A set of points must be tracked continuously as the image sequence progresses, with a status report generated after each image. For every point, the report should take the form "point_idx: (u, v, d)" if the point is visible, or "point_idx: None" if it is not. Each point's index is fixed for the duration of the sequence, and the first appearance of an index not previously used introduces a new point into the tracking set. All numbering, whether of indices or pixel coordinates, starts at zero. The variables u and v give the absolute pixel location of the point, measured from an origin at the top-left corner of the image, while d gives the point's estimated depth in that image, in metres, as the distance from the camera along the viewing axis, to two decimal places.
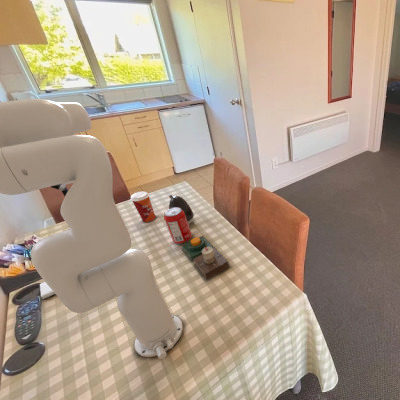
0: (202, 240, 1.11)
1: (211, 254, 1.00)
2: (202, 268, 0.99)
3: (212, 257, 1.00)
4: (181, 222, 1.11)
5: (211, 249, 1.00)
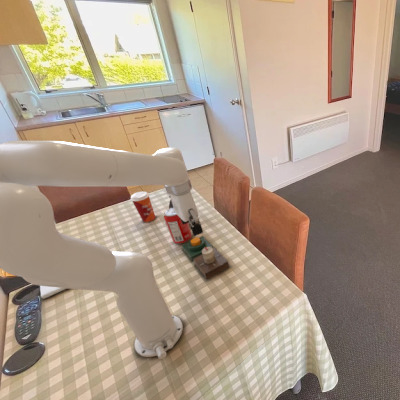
0: (202, 240, 1.11)
1: (211, 254, 1.00)
2: (202, 268, 0.99)
3: (212, 257, 1.00)
4: (181, 222, 1.11)
5: (211, 249, 1.00)
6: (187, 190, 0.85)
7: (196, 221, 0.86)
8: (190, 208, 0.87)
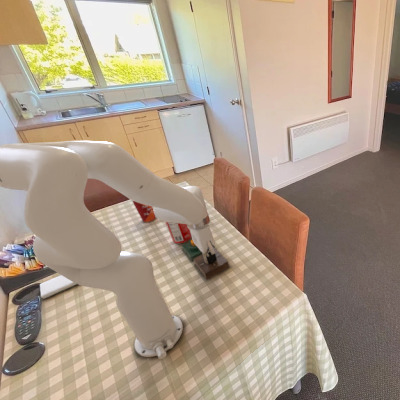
0: None
1: None
2: (202, 268, 0.99)
3: None
4: None
5: None
6: (206, 224, 0.92)
7: (212, 254, 0.95)
8: (208, 240, 0.93)
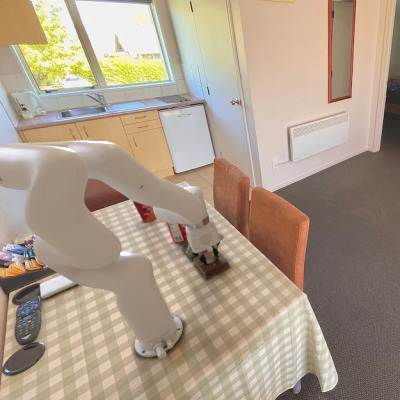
0: None
1: None
2: (202, 268, 0.99)
3: None
4: None
5: None
6: None
7: None
8: None
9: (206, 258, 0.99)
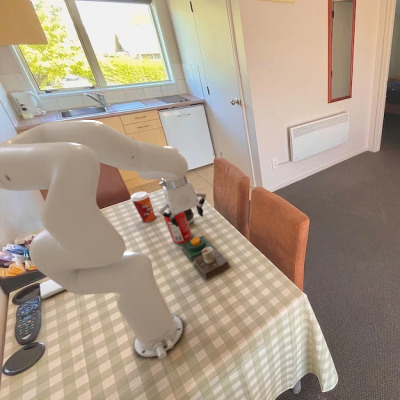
0: (202, 240, 1.11)
1: None
2: (202, 268, 0.99)
3: None
4: (181, 222, 1.11)
5: (207, 247, 1.01)
6: None
7: None
8: None
9: (206, 258, 0.99)
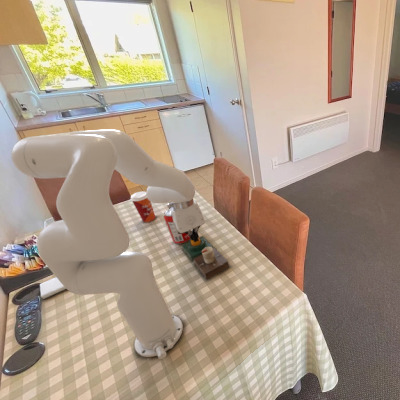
0: (202, 240, 1.11)
1: None
2: (202, 268, 0.99)
3: None
4: None
5: (207, 247, 1.01)
6: None
7: None
8: None
9: (206, 258, 0.99)
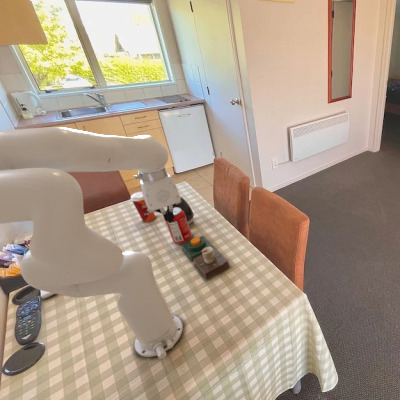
0: (202, 240, 1.11)
1: None
2: (202, 268, 0.99)
3: None
4: (181, 222, 1.11)
5: (207, 247, 1.01)
6: None
7: None
8: None
9: (206, 258, 0.99)
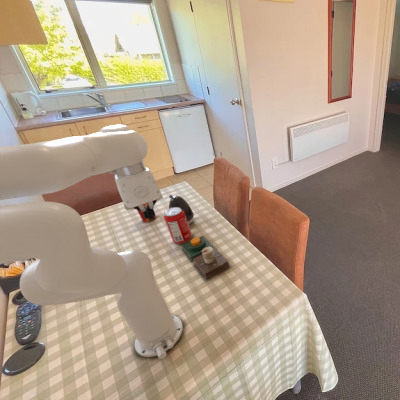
0: (202, 240, 1.11)
1: None
2: (202, 268, 0.99)
3: None
4: (181, 222, 1.11)
5: (207, 247, 1.01)
6: None
7: None
8: None
9: (206, 258, 0.99)
